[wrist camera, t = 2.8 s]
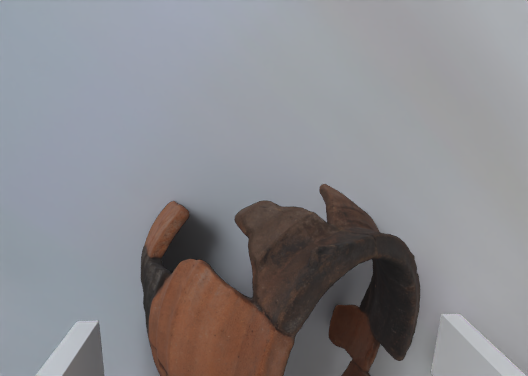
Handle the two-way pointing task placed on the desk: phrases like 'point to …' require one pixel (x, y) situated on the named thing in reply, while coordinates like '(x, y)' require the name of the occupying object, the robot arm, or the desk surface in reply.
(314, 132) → the desk surface
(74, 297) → the desk surface
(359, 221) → the broken clay pot
